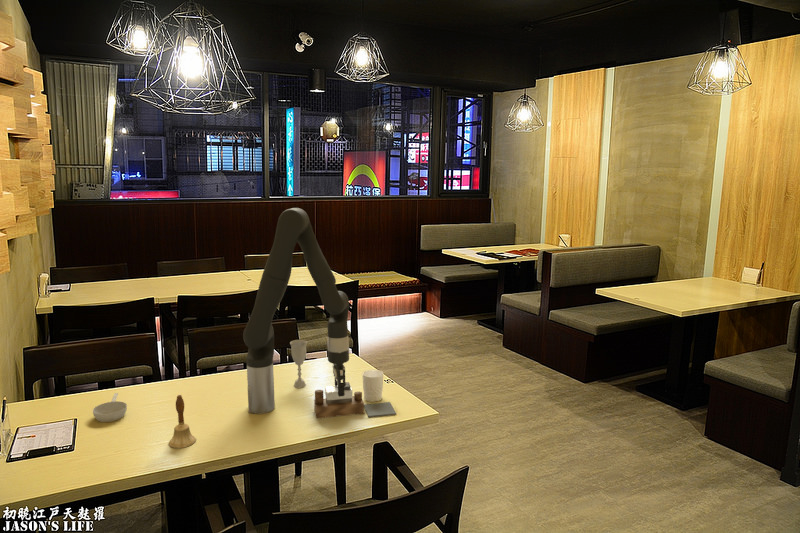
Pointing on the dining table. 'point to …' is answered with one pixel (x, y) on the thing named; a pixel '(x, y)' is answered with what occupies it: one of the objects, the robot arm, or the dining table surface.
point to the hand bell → (181, 429)
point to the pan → (110, 410)
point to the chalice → (299, 359)
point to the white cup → (372, 385)
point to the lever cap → (332, 392)
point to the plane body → (337, 405)
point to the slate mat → (379, 409)
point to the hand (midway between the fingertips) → (339, 391)
